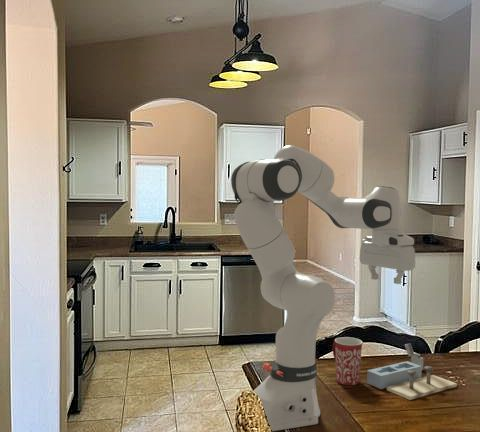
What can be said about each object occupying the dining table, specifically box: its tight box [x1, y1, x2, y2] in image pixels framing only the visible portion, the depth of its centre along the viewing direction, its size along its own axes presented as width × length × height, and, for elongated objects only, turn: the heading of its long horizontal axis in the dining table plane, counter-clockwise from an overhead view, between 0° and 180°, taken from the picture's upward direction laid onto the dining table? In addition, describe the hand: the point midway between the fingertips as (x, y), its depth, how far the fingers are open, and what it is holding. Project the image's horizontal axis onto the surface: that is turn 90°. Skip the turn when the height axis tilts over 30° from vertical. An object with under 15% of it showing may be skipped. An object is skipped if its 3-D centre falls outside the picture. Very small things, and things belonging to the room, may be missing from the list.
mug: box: [332, 336, 364, 386], centre depth 167 cm, size 13×9×14 cm
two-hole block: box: [366, 360, 423, 390], centre depth 167 cm, size 19×6×4 cm, turn 121°
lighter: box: [404, 342, 424, 371], centre depth 180 cm, size 7×2×8 cm, turn 30°
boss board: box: [386, 365, 458, 401], centre depth 160 cm, size 22×9×6 cm, turn 121°
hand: (385, 281), depth 161 cm, fingers open, 8 cm apart
